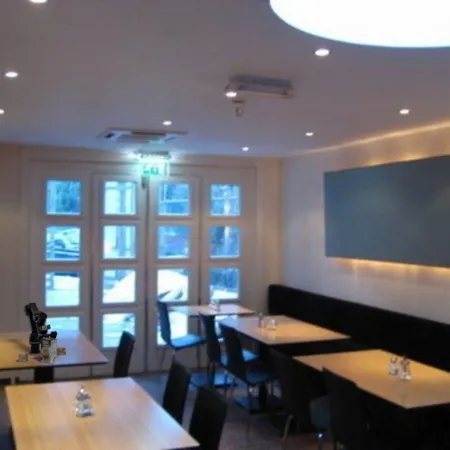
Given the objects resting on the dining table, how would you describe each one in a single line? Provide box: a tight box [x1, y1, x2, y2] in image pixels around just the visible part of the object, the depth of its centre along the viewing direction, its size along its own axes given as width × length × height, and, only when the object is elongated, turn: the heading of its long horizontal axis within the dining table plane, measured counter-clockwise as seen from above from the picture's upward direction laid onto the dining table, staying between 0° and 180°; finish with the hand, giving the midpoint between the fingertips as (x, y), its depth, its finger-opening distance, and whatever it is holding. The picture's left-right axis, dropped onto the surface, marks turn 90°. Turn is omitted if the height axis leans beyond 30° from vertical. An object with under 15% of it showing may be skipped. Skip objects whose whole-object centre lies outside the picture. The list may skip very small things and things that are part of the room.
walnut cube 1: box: [17, 353, 29, 363], centre depth 413 cm, size 5×5×5 cm
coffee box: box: [40, 337, 58, 364], centre depth 411 cm, size 9×6×16 cm
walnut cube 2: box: [57, 346, 67, 357], centre depth 433 cm, size 5×5×5 cm
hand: (45, 346), depth 418 cm, fingers closed
